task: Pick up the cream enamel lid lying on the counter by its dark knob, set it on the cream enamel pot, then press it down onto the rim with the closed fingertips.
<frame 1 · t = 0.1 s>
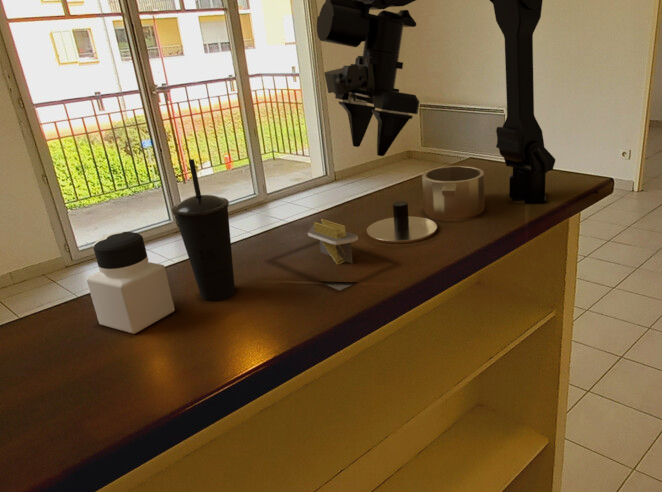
hand: (367, 151, 101), 15 cm above the worktop, tool pointing down, fingers open, 9 cm apart
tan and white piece: (332, 263, 98), on the worktop
drinking cup: (218, 294, 90), on the worktop
medicine bottle: (138, 319, 84), on the worktop
lid: (402, 230, 107), point 1 cm above the worktop
pot: (454, 211, 117), on the worktop
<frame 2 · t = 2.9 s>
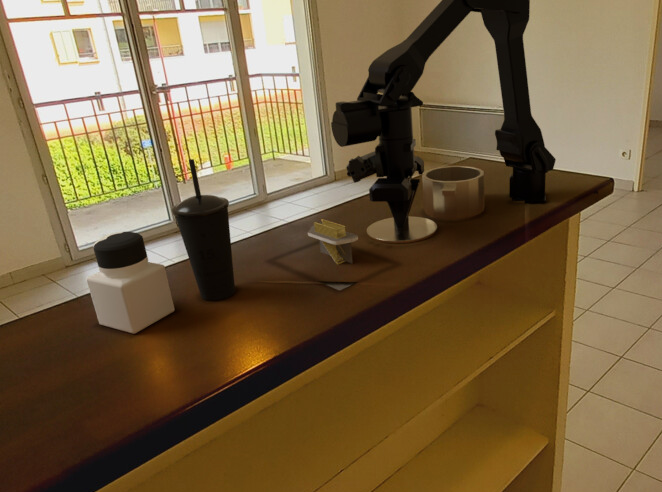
hand: (401, 225, 107), 2 cm above the worktop, tool pointing down, fingers closed on lid, 2 cm apart
lid: (402, 230, 107), point 1 cm above the worktop, touching gripper
everything else where it was.
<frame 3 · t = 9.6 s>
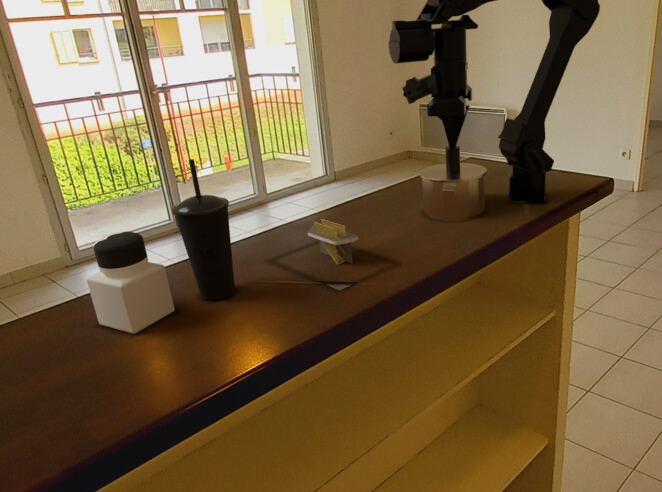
hand: (452, 147, 112), 12 cm above the worktop, tool pointing down, fingers closed, pressing on lid
lid: (453, 173, 114), point 7 cm above the worktop, touching gripper, pot
everything else where it was.
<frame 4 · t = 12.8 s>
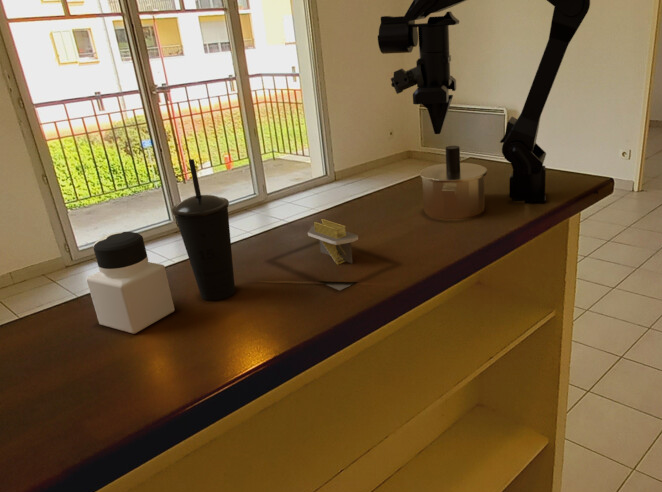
hand: (437, 133, 122), 13 cm above the worktop, tool pointing down, fingers closed
lid: (453, 173, 114), point 7 cm above the worktop, touching pot
everything else where it was.
at the end: lid 0.0 cm off-centre on the pot, point 7.5 cm above the pot's base; lid tilted 0°; the gripper is holding nothing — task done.
